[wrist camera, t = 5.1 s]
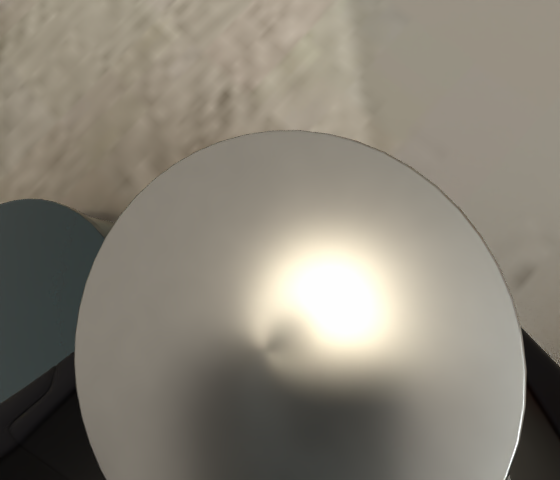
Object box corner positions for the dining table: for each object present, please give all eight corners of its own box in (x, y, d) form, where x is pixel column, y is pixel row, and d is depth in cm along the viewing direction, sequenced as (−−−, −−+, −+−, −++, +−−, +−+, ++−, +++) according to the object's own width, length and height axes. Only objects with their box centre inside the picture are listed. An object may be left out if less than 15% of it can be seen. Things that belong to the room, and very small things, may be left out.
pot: (244, 380, 18) (206, 411, 14) (2, 466, 21) (-92, 515, 17) (172, 168, 21) (121, 138, 16) (-36, 271, 23) (-127, 269, 19)
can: (437, 304, 16) (675, 382, 4) (335, 398, 17) (254, 730, 4) (336, 207, 18) (275, 42, 6) (246, 296, 19) (5, 330, 6)
